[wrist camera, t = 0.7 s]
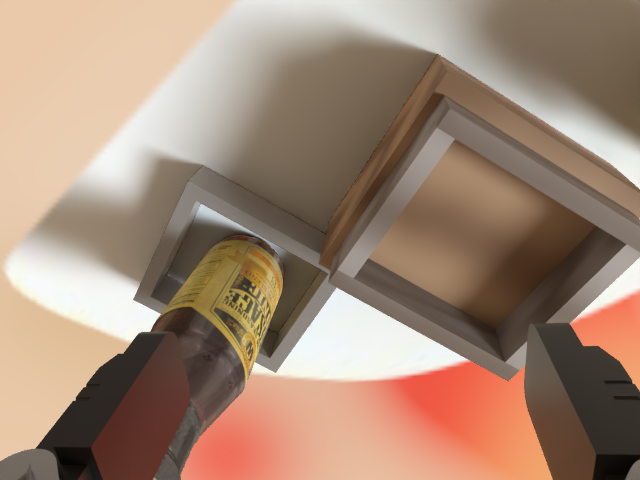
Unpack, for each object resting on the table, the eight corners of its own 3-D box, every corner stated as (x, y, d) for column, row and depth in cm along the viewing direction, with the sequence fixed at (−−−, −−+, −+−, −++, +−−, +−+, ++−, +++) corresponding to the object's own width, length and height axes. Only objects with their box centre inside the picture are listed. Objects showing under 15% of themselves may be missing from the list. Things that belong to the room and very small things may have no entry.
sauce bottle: (295, 296, 39) (218, 554, 22) (219, 303, 41) (90, 552, 23) (276, 220, 37) (171, 446, 19) (195, 230, 38) (27, 451, 20)
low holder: (203, 165, 35) (188, 180, 33) (351, 248, 37) (348, 270, 34) (150, 278, 40) (133, 299, 38) (282, 347, 42) (275, 372, 39)
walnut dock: (437, 53, 30) (454, 83, 22) (611, 164, 32) (684, 228, 24) (328, 221, 36) (311, 291, 28) (480, 307, 38) (503, 395, 30)
